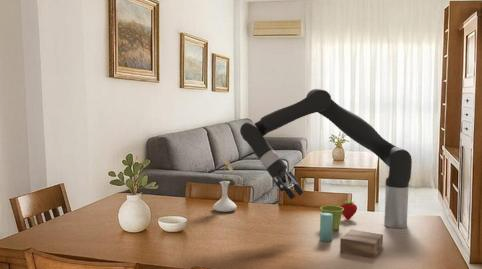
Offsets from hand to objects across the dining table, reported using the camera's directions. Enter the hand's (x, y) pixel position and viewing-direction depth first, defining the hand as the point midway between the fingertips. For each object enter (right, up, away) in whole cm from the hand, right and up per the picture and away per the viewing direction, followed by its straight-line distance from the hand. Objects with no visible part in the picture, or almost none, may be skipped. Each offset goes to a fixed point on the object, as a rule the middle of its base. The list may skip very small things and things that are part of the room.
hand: (297, 196), depth 183 cm
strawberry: (+25, -14, +24) cm, 37 cm away
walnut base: (+21, -18, -15) cm, 31 cm away
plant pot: (+15, -15, +11) cm, 24 cm away
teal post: (+10, -16, -4) cm, 20 cm away
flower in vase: (-30, -12, +40) cm, 51 cm away
